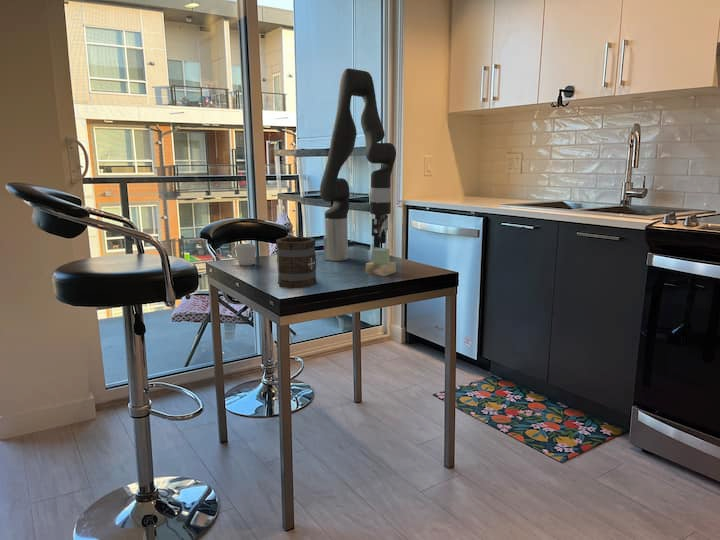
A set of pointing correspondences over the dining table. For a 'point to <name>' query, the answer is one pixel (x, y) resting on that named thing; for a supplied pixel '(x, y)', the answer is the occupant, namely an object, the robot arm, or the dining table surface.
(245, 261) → the cup
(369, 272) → the maple block
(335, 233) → the robot arm
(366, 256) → the dining table surface
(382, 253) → the sage cube
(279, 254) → the mug
